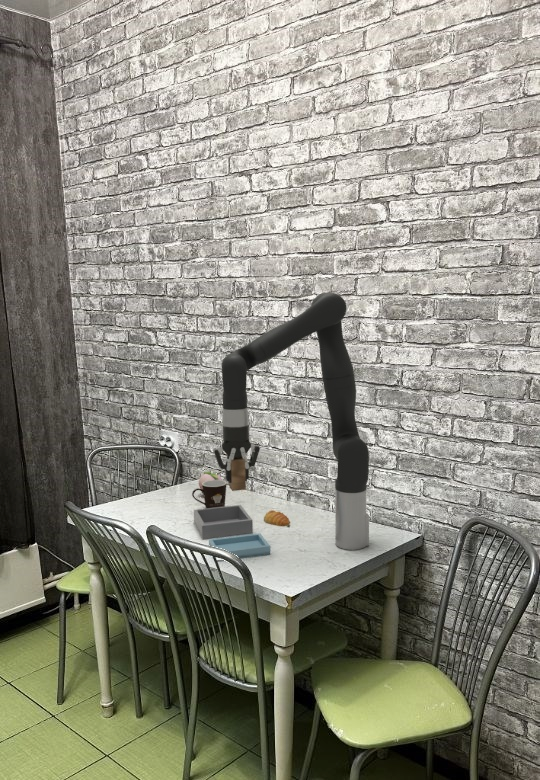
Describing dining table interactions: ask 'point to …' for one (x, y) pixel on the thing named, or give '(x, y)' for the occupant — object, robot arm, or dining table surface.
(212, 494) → the coffee mug
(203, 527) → the low gray crate
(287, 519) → the pastry
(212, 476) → the decorative fruit
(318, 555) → the dining table surface
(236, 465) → the walnut block
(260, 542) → the shallow blue tray
